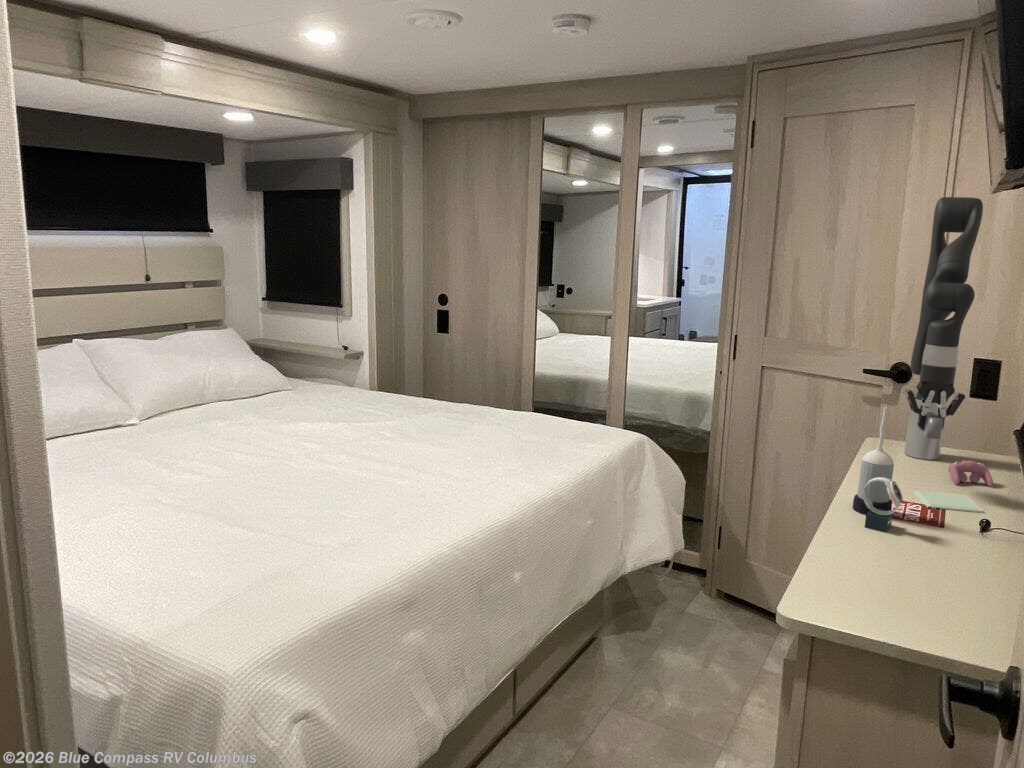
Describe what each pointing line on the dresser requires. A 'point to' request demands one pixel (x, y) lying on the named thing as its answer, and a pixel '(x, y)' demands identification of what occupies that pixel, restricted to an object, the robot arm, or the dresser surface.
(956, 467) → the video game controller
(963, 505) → the mat
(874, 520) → the watch
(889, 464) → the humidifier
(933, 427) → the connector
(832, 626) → the dresser surface
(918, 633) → the dresser surface
